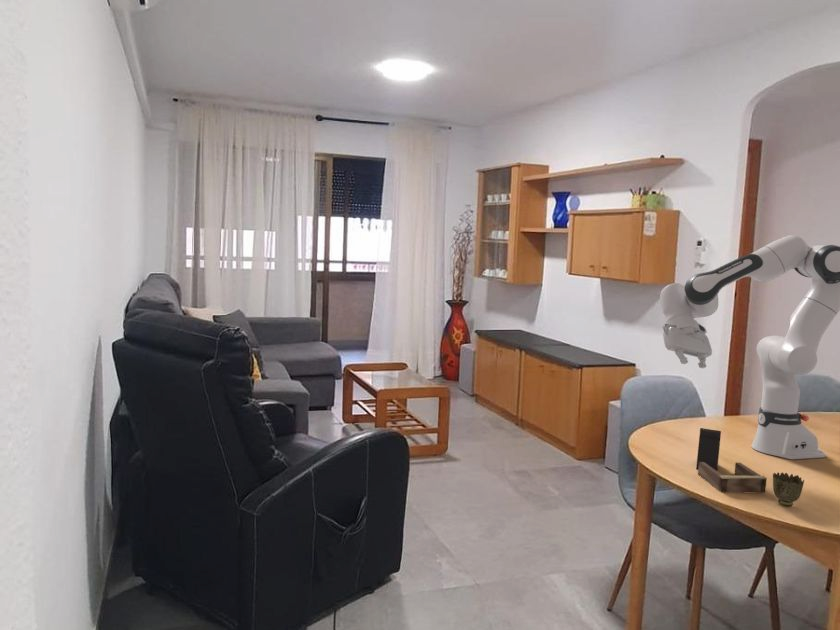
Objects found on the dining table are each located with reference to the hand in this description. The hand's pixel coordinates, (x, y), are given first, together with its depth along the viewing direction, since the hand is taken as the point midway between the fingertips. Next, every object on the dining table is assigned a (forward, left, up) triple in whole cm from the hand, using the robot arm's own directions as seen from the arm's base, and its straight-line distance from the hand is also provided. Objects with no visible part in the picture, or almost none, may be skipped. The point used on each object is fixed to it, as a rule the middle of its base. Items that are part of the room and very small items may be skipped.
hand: (694, 365), depth 216 cm
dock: (-1, +26, -30) cm, 39 cm away
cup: (-8, +42, -30) cm, 52 cm away
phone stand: (-1, +13, -30) cm, 33 cm away
